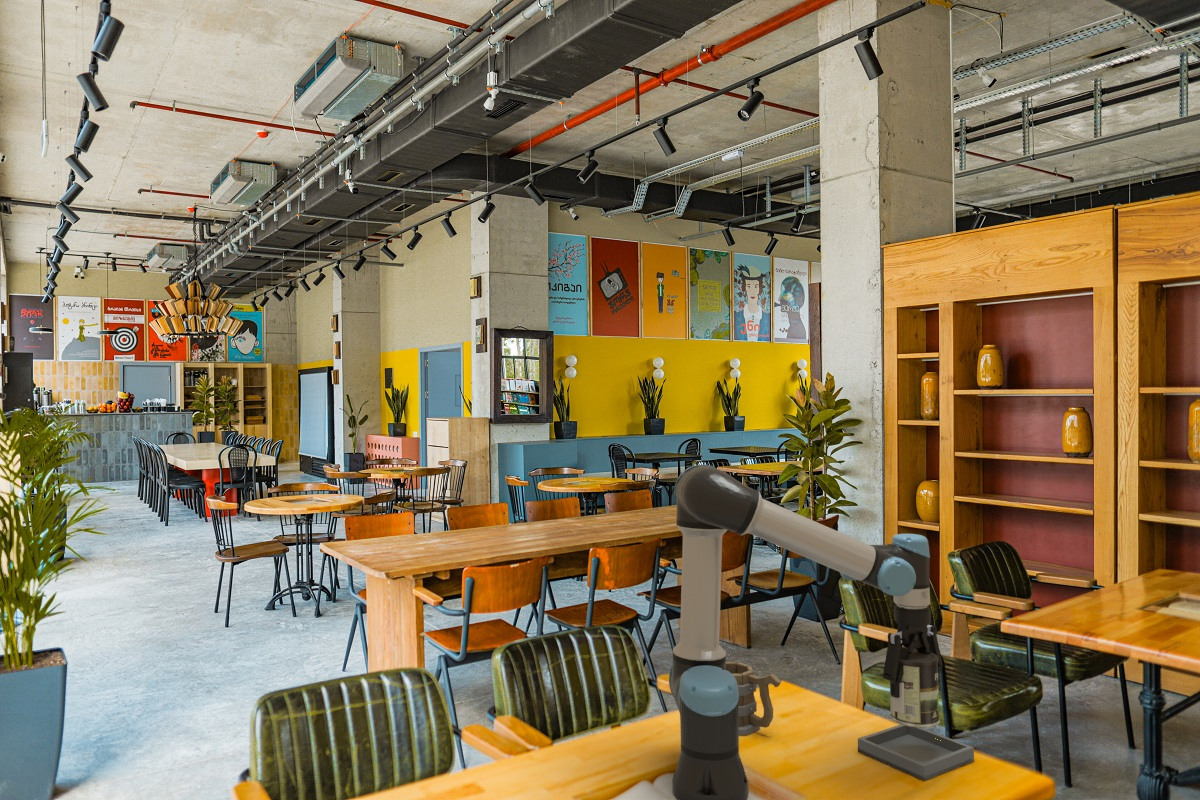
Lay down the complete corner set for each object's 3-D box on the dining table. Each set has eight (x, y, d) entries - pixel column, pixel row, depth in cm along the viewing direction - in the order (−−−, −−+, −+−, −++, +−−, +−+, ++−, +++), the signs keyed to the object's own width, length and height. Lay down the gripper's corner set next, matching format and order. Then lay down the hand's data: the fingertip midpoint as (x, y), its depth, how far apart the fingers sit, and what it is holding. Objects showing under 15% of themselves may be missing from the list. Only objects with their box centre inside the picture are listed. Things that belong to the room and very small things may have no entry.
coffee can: (934, 711, 180) (933, 648, 180) (944, 729, 170) (943, 663, 170) (886, 709, 182) (885, 646, 182) (893, 726, 172) (892, 660, 172)
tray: (924, 781, 164) (923, 766, 164) (857, 751, 179) (857, 738, 179) (974, 761, 173) (973, 747, 173) (907, 735, 188) (907, 722, 188)
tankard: (695, 725, 195) (694, 663, 196) (728, 711, 204) (727, 652, 204) (762, 750, 180) (761, 683, 181) (794, 734, 189) (793, 670, 189)
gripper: (892, 616, 167) (894, 723, 167) (958, 601, 179) (961, 701, 179) (863, 608, 174) (865, 711, 173) (929, 595, 186) (931, 691, 185)
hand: (914, 706), depth 176 cm, fingers closed on coffee can, 10 cm apart
